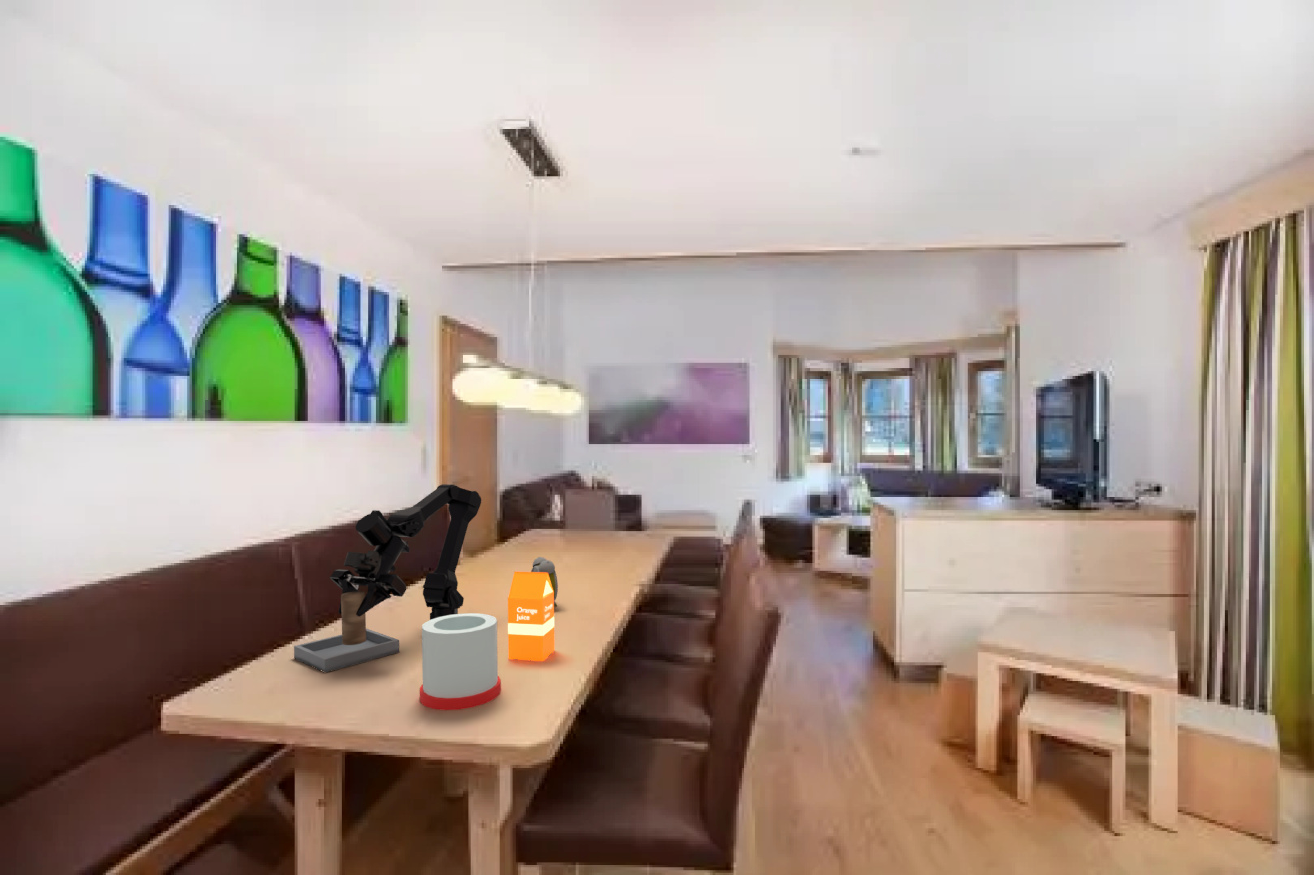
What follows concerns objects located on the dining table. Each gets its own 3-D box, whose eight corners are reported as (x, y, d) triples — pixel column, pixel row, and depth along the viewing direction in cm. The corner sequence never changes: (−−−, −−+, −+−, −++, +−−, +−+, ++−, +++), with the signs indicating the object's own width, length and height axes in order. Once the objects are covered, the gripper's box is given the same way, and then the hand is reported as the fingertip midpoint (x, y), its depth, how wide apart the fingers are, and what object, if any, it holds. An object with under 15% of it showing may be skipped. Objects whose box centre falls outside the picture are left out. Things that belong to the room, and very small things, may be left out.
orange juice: (543, 661, 158) (542, 576, 157) (508, 659, 159) (506, 574, 159) (555, 650, 165) (553, 569, 165) (521, 648, 167) (520, 568, 167)
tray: (366, 640, 176) (366, 628, 176) (399, 652, 166) (399, 639, 165) (294, 658, 162) (294, 645, 162) (324, 672, 152) (324, 659, 152)
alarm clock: (529, 604, 210) (529, 556, 210) (550, 602, 213) (550, 554, 213) (541, 613, 200) (541, 562, 200) (563, 610, 203) (562, 560, 203)
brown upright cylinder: (370, 638, 157) (369, 591, 157) (358, 645, 152) (357, 596, 152) (349, 638, 158) (348, 591, 158) (337, 645, 153) (336, 596, 153)
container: (470, 674, 150) (469, 608, 150) (516, 691, 140) (515, 620, 139) (404, 696, 137) (402, 625, 137) (449, 717, 127) (448, 639, 127)
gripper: (335, 535, 162) (296, 592, 152) (396, 539, 155) (360, 599, 145) (361, 562, 169) (326, 617, 159) (421, 566, 162) (388, 625, 152)
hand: (348, 614), depth 154 cm, fingers closed on brown upright cylinder, 5 cm apart
